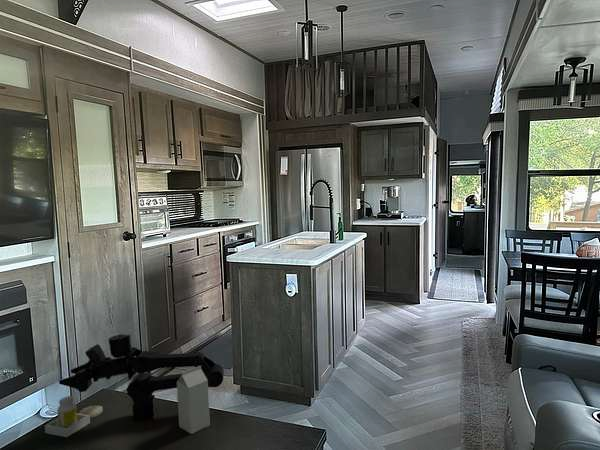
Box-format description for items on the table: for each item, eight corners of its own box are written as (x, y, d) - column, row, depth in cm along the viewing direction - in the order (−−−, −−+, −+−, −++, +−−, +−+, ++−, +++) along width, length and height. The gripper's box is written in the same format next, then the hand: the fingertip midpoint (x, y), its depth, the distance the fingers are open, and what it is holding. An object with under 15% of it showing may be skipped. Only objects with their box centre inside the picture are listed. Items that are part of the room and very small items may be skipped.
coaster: (105, 407, 151) (105, 404, 151) (98, 417, 143) (98, 414, 143) (84, 409, 150) (83, 406, 150) (75, 419, 142) (75, 416, 142)
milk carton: (210, 425, 134) (207, 368, 134) (191, 434, 129) (187, 375, 129) (198, 418, 139) (194, 363, 139) (179, 427, 134) (175, 369, 133)
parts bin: (69, 419, 143) (69, 412, 143) (90, 422, 140) (89, 415, 140) (45, 433, 134) (44, 425, 134) (66, 437, 131) (66, 429, 131)
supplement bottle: (81, 423, 139) (79, 395, 139) (70, 432, 134) (68, 402, 134) (66, 423, 140) (64, 395, 140) (54, 432, 135) (52, 402, 134)
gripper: (117, 336, 150) (72, 344, 148) (100, 353, 131) (48, 363, 129) (122, 366, 150) (77, 374, 148) (106, 387, 132) (54, 397, 130)
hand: (65, 376), depth 139 cm, fingers open, 9 cm apart
